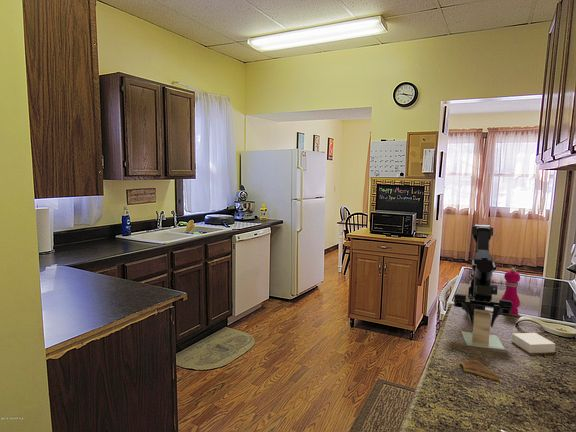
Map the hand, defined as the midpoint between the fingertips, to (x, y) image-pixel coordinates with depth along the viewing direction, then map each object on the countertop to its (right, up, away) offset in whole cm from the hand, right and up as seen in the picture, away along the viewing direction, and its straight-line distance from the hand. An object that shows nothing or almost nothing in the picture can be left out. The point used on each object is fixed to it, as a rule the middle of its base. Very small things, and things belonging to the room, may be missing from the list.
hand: (481, 325), depth 132 cm
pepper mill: (+29, -4, +33) cm, 44 cm away
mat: (+2, -7, +4) cm, 8 cm away
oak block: (+1, -6, +2) cm, 7 cm away
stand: (+17, -7, -1) cm, 19 cm away
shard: (-9, -9, -17) cm, 21 cm away
